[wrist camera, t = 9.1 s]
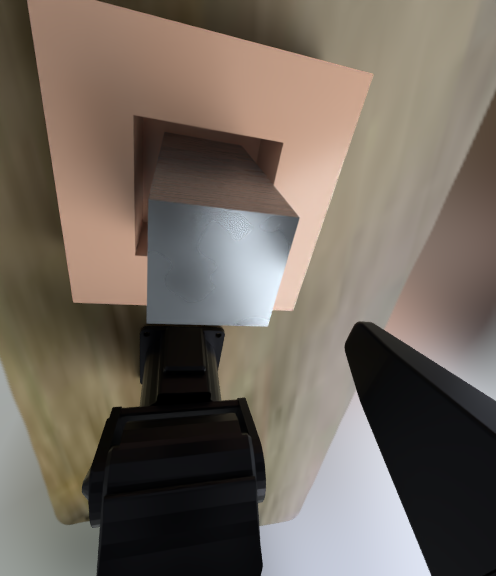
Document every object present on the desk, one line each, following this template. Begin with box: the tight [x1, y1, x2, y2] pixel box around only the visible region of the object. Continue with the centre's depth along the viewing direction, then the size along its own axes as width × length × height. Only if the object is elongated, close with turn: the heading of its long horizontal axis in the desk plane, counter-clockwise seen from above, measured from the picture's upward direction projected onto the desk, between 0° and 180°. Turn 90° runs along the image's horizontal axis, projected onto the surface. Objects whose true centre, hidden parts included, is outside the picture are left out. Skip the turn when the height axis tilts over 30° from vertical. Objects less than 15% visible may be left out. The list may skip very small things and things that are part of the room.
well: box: [27, 0, 374, 311], centre depth 16 cm, size 12×12×5 cm
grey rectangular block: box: [147, 132, 300, 326], centre depth 13 cm, size 4×4×10 cm
